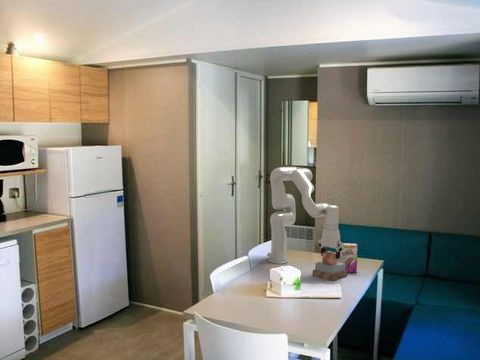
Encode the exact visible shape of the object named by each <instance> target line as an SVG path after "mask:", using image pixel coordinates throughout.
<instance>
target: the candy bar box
mask: <svg viewBox="0 0 480 360" xmlns="http://www.w3.org/2000/svg"><path fill="white" fill-rule="evenodd" d="M342 243H343V242H342ZM343 244H344V245H345V246H344V248H343V250H341V251H340V258H339V259H337V262H340V263H345V270H347V273H352V274H353V273H355V274H356V273H357V272H358V271H357V270H358V269H357V268H358V254H359V253H358V249H359V246H358V244H357V243H345V242H344V243H343ZM340 248H341V245H340Z"/></svg>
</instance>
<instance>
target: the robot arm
mask: <svg viewBox="0 0 480 360" xmlns="http://www.w3.org/2000/svg"><path fill="white" fill-rule="evenodd" d="M269 180H270V186H271V204H272V208H273V209H274V210H277V212H274V213H272V214H271V216H270V217H269V218H270V220H269V223H270V227H271V228H270V229H271V241H270V242H271V245H270V247H271V248H270V249H271V251H270V252H268V253H267V254H266V256H267V257H269V258H268V262H269V263H272V264H276V265H279V264H281V265H284V264H287V263H289V259H288V258H287V240H288V239H287V238H288V237H287V235H288V234H287V230H286V228H285V227H288V226H289V227H290V226H292V225H294V224H295V222H296V218H297V217H296V216H297V214H296V210H297V209H296V200H295V197H294V196H293V195H292V194H291V193H286V187H285V183H284V182H285V181H292V182H293V184H294V185H295V187H296V188H297V189H298V191H299V193H300V194H301V203H302V205H303V208H304V210H305V211H306V213H308V215H309V216H310V217H311V218H320V217H324V223H323V224H322V226H323V227H324V228H323V229H322V233H321V238H319V239H318V240H317V243H318V247H320V254H321V257H323V253H324V252H326V248H329V249H330V248H331V249H335V253H336V259H339V258H340V251H341V250H343V248H344V246H345V245H344V244H343V241H341V233H340V229H339V218H340V217H339V216H340V213H339V212H340V211H339V210H340V209H339V208H340V207H339V206H338V205H335V204H329V203H325V202H322V203H321V202H320V203H315V202H314V200H313V199H312V196H311V194H312V193H313V192H314V191H315V186H314V185H313V183H312V182H311V181H312V180H313V173H312V170H311V169H309V168H307V167H306V168H304V167H297V166H280V167H276V168H275V169H273V170H272V171H271V173H270V176H269ZM279 210H281V211H279ZM282 210H283V211H282ZM340 245H341V248H340Z"/></svg>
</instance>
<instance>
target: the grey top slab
mask: <svg viewBox="0 0 480 360" xmlns="http://www.w3.org/2000/svg"><path fill="white" fill-rule="evenodd" d="M314 265H315V266H314V267H315V268H314V270H318V271H321V272H325V273H329V274H336V273H339V272H342V271H345V263H340V262H337V264H334V265H328V264H324V263H322V261H319V262H318V261H317V262H315V264H314Z"/></svg>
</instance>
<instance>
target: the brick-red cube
mask: <svg viewBox="0 0 480 360" xmlns="http://www.w3.org/2000/svg"><path fill="white" fill-rule="evenodd" d="M322 263H324V264H328V265H334V264H337V259H336V251H330V250H328V251H327V250H326V251H325V252H324V253H323V256H322Z"/></svg>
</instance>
